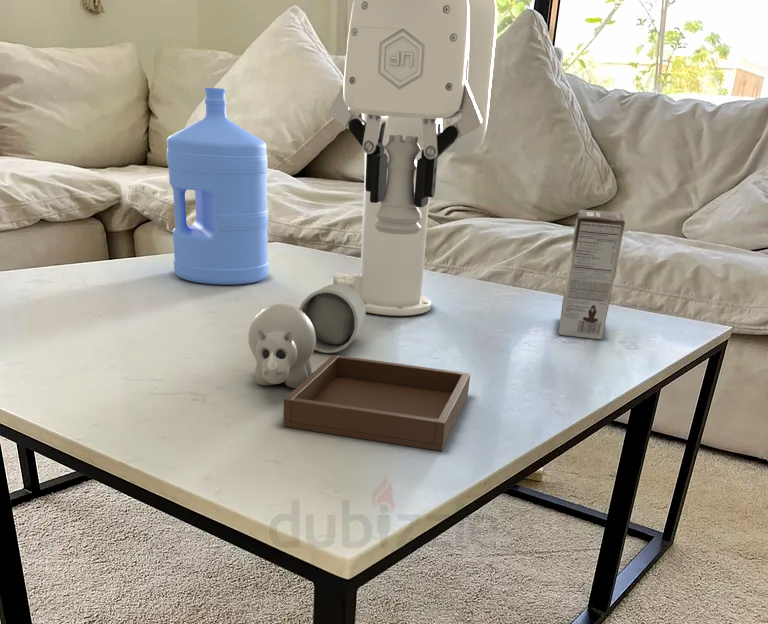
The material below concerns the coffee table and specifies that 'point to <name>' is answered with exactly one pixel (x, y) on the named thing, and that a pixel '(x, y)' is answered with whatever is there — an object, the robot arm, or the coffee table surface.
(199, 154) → the water jug
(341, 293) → the ceramic mug
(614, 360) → the coffee table surface
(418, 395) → the tray
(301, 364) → the round bodied animal figurine
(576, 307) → the coffee box
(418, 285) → the robot arm
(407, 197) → the rook chess piece
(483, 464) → the coffee table surface
